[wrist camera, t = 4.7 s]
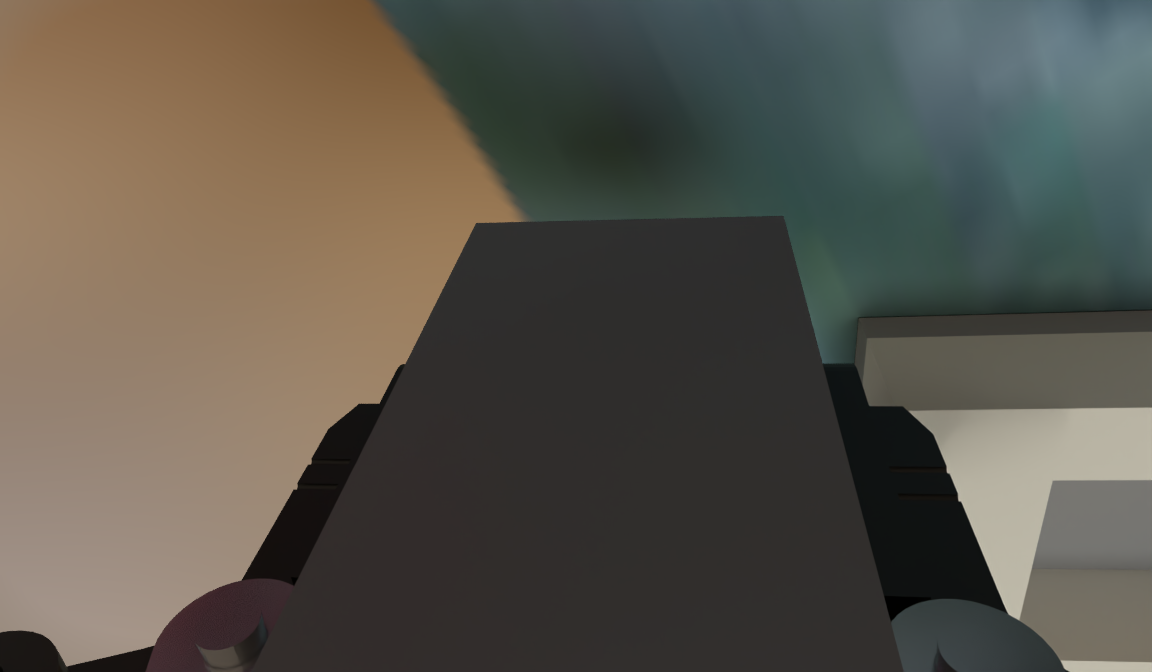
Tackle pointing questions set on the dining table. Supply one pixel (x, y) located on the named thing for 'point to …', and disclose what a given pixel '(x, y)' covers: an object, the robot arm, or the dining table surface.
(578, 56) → the dining table surface
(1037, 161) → the dining table surface
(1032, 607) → the strip
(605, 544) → the plug
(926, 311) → the dining table surface
